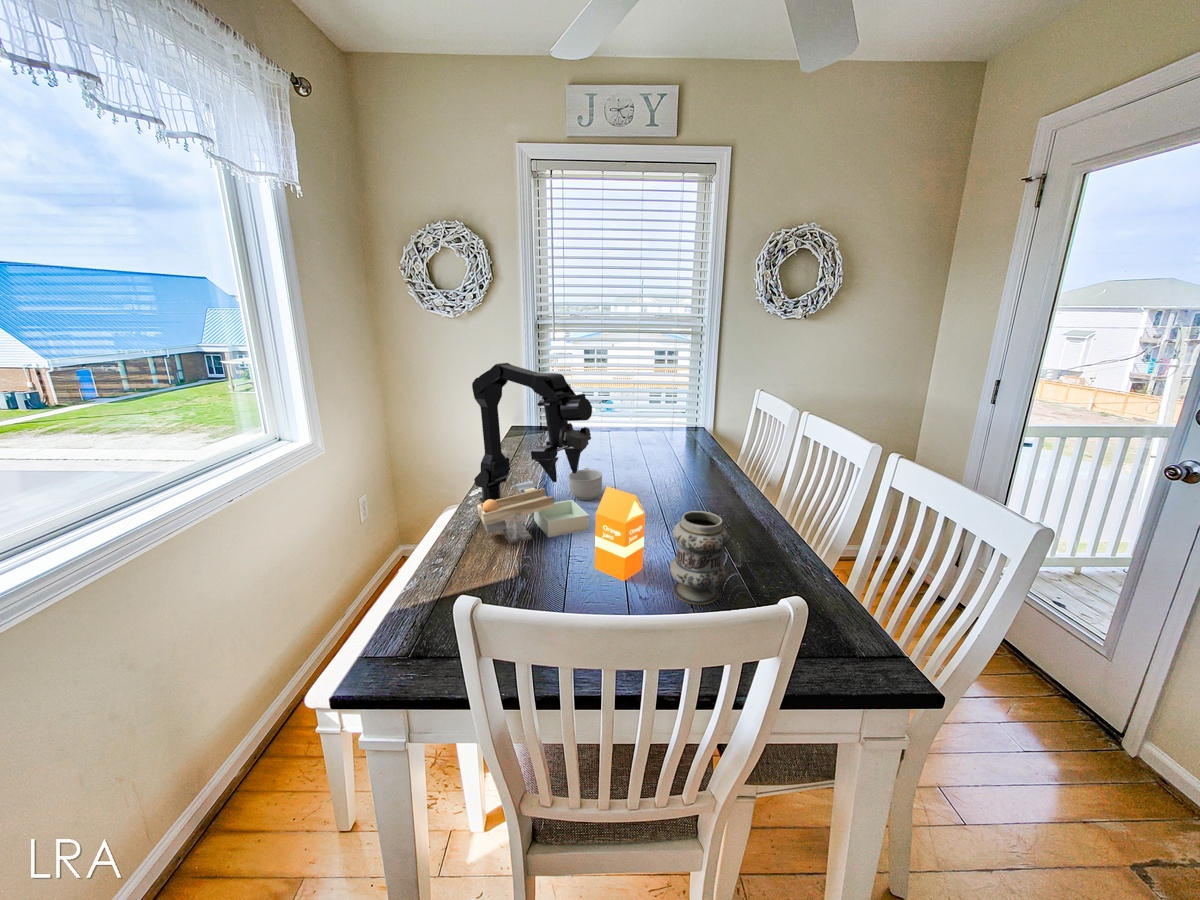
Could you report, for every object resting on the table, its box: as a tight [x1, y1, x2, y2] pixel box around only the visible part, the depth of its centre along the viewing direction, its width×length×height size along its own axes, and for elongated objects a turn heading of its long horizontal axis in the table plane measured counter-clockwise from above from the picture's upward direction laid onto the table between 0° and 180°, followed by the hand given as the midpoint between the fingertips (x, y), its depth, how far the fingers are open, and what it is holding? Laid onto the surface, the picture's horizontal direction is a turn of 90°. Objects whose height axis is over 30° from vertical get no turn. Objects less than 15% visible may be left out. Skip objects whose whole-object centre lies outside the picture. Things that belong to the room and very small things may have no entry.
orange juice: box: [594, 486, 646, 582], centre depth 116 cm, size 8×9×20 cm
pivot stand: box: [501, 513, 532, 544], centre depth 135 cm, size 10×6×8 cm, turn 26°
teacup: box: [568, 467, 603, 501], centre depth 163 cm, size 14×11×8 cm
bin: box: [533, 499, 590, 538], centre depth 141 cm, size 12×12×4 cm
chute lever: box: [476, 480, 554, 535], centre depth 139 cm, size 17×19×6 cm
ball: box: [483, 499, 498, 513], centre depth 131 cm, size 4×4×4 cm
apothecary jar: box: [669, 510, 730, 606], centre depth 108 cm, size 12×12×18 cm
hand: (565, 477), depth 136 cm, fingers open, 9 cm apart
